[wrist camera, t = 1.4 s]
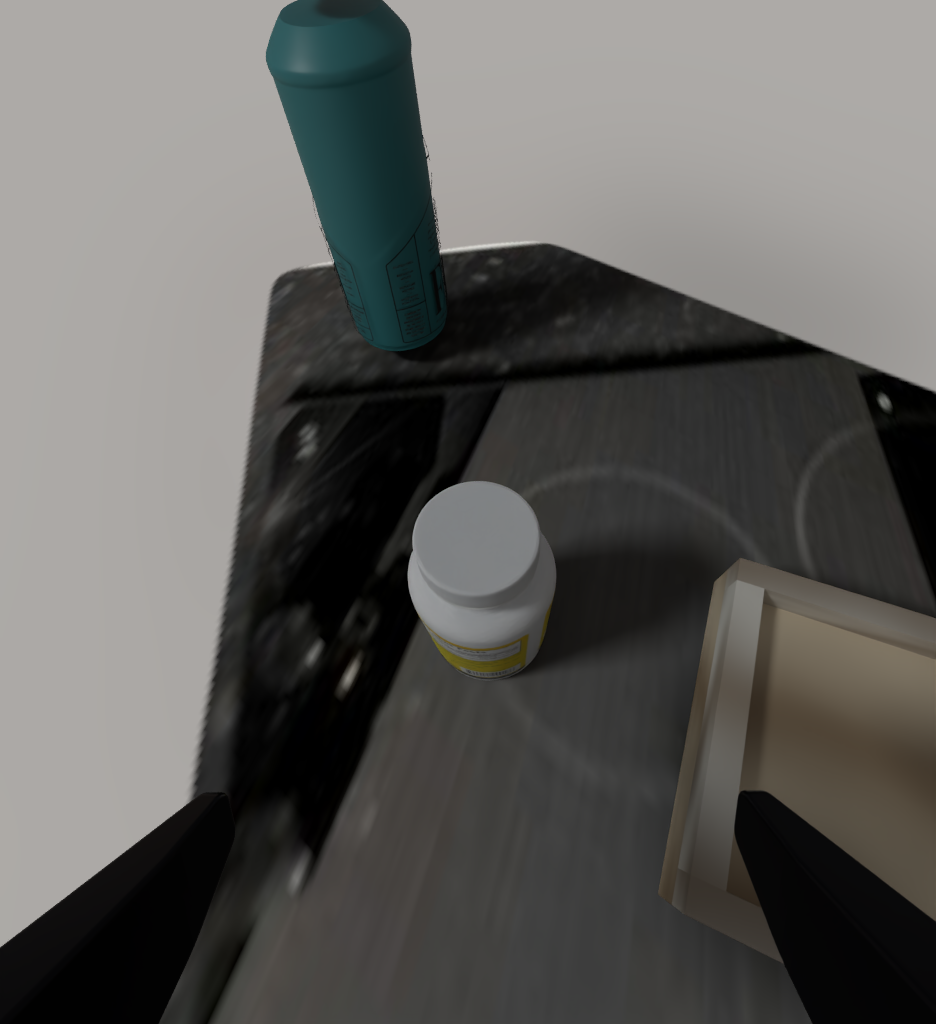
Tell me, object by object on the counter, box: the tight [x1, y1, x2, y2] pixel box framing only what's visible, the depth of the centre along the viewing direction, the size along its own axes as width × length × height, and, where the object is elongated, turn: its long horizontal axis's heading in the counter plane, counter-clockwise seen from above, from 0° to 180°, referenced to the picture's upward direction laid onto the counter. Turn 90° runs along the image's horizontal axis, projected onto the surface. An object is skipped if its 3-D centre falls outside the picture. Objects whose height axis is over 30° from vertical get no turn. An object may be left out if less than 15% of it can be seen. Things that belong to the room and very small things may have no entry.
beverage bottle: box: [266, 0, 449, 351], centre depth 25 cm, size 6×7×20 cm
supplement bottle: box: [408, 481, 556, 680], centre depth 19 cm, size 5×5×10 cm
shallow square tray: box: [658, 558, 936, 964], centre depth 16 cm, size 12×14×5 cm
